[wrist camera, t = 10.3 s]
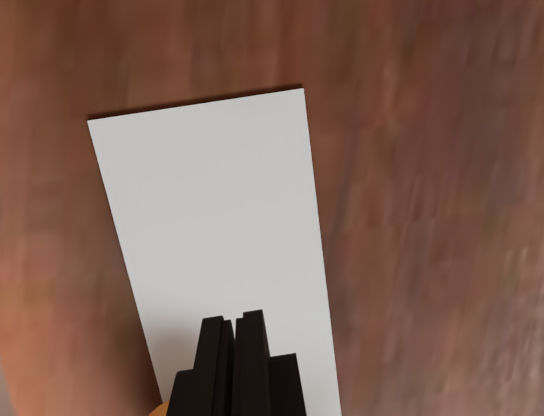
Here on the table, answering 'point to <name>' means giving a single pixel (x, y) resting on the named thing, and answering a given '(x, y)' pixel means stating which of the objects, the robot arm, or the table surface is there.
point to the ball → (160, 410)
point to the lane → (222, 229)
